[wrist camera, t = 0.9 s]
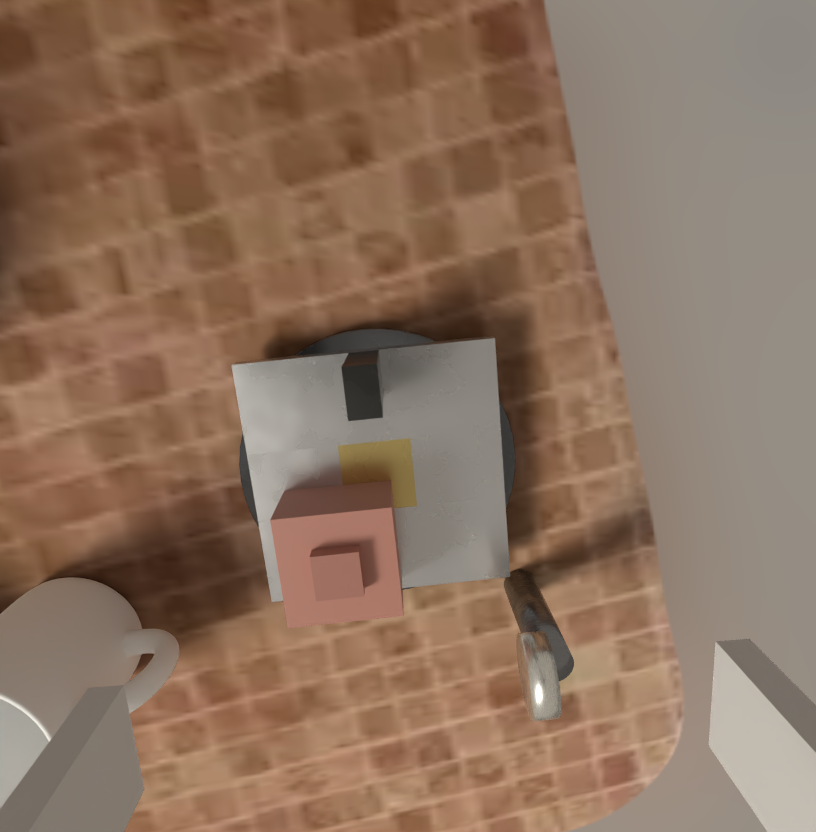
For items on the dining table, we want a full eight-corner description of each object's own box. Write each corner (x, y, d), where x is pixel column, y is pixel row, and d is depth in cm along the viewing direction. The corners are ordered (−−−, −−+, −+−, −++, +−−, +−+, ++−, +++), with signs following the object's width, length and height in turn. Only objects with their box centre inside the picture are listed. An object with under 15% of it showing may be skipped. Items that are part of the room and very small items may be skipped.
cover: (283, 491, 33) (266, 526, 28) (391, 479, 33) (391, 513, 28) (299, 588, 34) (285, 637, 30) (401, 577, 34) (404, 624, 30)
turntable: (237, 361, 32) (202, 381, 26) (491, 335, 32) (514, 349, 26) (275, 591, 36) (252, 655, 30) (505, 566, 36) (529, 626, 30)
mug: (187, 552, 36) (112, 658, 26) (219, 668, 38) (159, 807, 28) (-4, 583, 36) (-154, 701, 26) (37, 697, 38) (-88, 847, 28)
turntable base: (222, 342, 33) (217, 344, 32) (503, 314, 33) (507, 315, 33) (266, 596, 37) (262, 605, 36) (518, 569, 37) (522, 577, 36)
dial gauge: (492, 557, 37) (533, 667, 27) (533, 553, 37) (590, 660, 27) (496, 614, 38) (537, 741, 28) (536, 610, 38) (592, 735, 28)
